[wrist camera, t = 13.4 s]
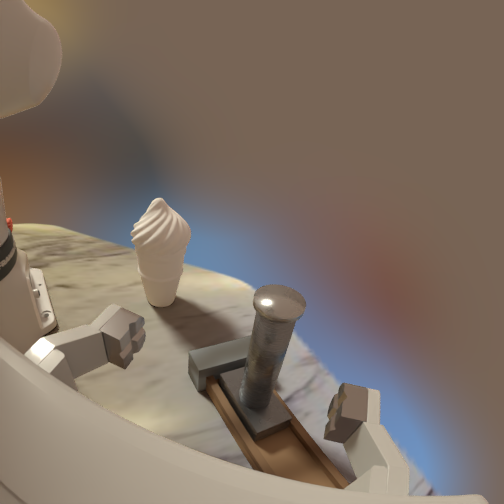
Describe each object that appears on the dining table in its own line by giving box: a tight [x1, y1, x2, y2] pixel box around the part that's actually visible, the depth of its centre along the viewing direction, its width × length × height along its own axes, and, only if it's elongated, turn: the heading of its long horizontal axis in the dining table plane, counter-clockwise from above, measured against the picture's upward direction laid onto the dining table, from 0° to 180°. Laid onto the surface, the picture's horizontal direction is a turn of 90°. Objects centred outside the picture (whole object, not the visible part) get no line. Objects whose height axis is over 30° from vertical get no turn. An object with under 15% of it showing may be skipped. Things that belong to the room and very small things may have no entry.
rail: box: [188, 336, 350, 489], centre depth 25 cm, size 32×8×4 cm, turn 29°
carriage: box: [219, 285, 306, 442], centre depth 28 cm, size 8×4×15 cm, turn 29°
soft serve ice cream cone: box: [131, 198, 191, 307], centre depth 43 cm, size 8×8×16 cm
